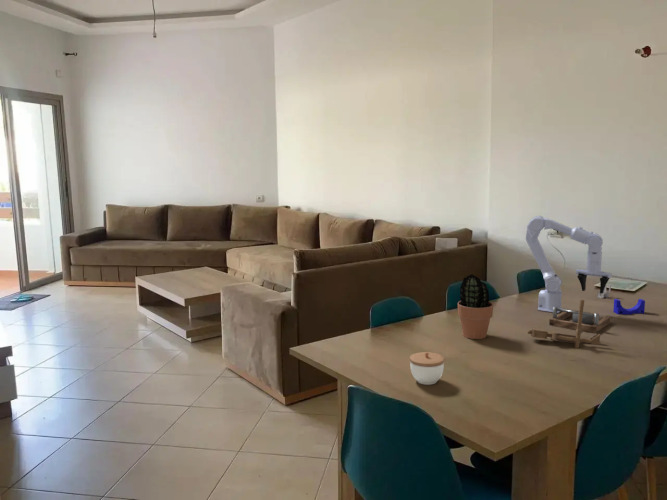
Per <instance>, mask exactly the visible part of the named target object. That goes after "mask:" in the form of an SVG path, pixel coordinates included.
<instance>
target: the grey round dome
mask: <svg viewBox="0 0 667 500" xmlns="http://www.w3.org/2000/svg"><path fill="white" fill-rule="evenodd" d="M583 313H587V312H586V311H583ZM589 313H590V312H589ZM590 314H592V313H590ZM578 316H579V314H574V313H572V321H571V322H575V323H578ZM582 324H586V325H594V317H593V316H586V315H583V316H582Z"/></svg>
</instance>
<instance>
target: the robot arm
mask: <svg viewBox="0 0 667 500" xmlns="http://www.w3.org/2000/svg"><path fill="white" fill-rule="evenodd" d="M583 228H584V227H582V226H579V227H578V226H576V227H570V226H569V225H565V224H563V223H560V222H558V221H556V220H554V219H551V218H549V217H544V216H542V215H536V216H534V217H533V218H531V219H530V220H529V222H528V224H527V225H526V234H525V240H526V243H527V244H528V247H529V249H530V251H531V254H532V255H533V257H534V260H535V261H536V263H537V265H538V267H539V270H540V271H541V273H542V276H543V280H544V284H545V285H544V286H545V289H541V290H540V291H539V293H538V304H537V305H538V306H537V307H538V308H537V310H538V311H543V312H549V313H553V307H557V308H558V309H564V308H562V294H563V293H562V292H563V291H562V289H561V286H562V283H563V280H562V278H561V277H560V276H558V275H557V273H556V271H555V270H554V269H553V266H552V265H551V263H550V260H549V259H548V257H547V254H546V253H545V250H544V249H543V246H542V245H541V242H540V240H539V239H538V238H539V237H540V234H541V231H542V230H550V229H551V230H555V231H557V232H560V233H563V234H566V235H568V236H569V237H570V240H574V241H576V242H578V243H581V244H582V245H583V244H584V245H587V246H588V249H587V254H586V255H587V257H586V269H580V268H577V269H576V270H575V274H576V275H577V279H578V281H579V284H580V287H581V291H582V292H585V291H586V289H587V288H586V287H587V286H586V285H587V277H588V276H590V277H593V276H594V277H599V282H600V283H599V285H600V288H599V292H600V293H601V294H602V293H603V292H604V288H605V286H606V287H607V284H608V282H609V280H610V279H611V278H612V277H613V273H612V272H611V273H610V272H606V271H602V254H603V252H602V250H603V247H602V246H603V242H604V241H603V239H604V238H603V237H602V235H600V234H598V233H594V231H591V232H590V231H588V230H586V229H583ZM560 313H562V311H557V314H560Z"/></svg>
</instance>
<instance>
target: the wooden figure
mask: <svg viewBox="0 0 667 500" xmlns="http://www.w3.org/2000/svg"><path fill="white" fill-rule="evenodd" d="M584 307H585V300H584V299H580V301H579V309H578V312H579V316H578V325H577V329H576V330H575V334H576V335H574V334H569V333H563V332H562V333H561V332H555V331H550V332H548V331H547V330H541V329H533V328H532V329H531V330H528V331H527V335H530V336H531V337H532V338H537V339H545V340H546V339H548V338H550V340H552V341H558V342H564V343H565V342H566V343H571V344H574V348H575V349H579V348H580V343H585V344H589V345H590V344H591V345H598V346H599V345H600V340H601V334H600V333H595V334H594V335H593V336H592V337H590V338H584V337H581V334H582V333H583V331H582V330H581V325H582V316H583V312H584Z"/></svg>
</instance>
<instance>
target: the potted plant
mask: <svg viewBox="0 0 667 500" xmlns="http://www.w3.org/2000/svg"><path fill="white" fill-rule="evenodd" d="M459 289H460V290H459V301H458V302H457V315H458V316H459V320H460V324H461V325H460V326H461V330H462V334H463V336H464V337H465V338H466V339H471V340H481V339H485V338H486V337H487V334H488V329H489V326H490V322H491V319H492V318H493V314H494V312H493V311H494V304H493V302H491V301H490V294H489V293H490V292H489V289H488V287H487V284H486V283H485V282H482V281H481V278H479V277H478V276H476V275H474V274H473V273H472V274H469V275H468V276H466V277H464V278H463V280H462V283H461V285H460V288H459Z"/></svg>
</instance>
